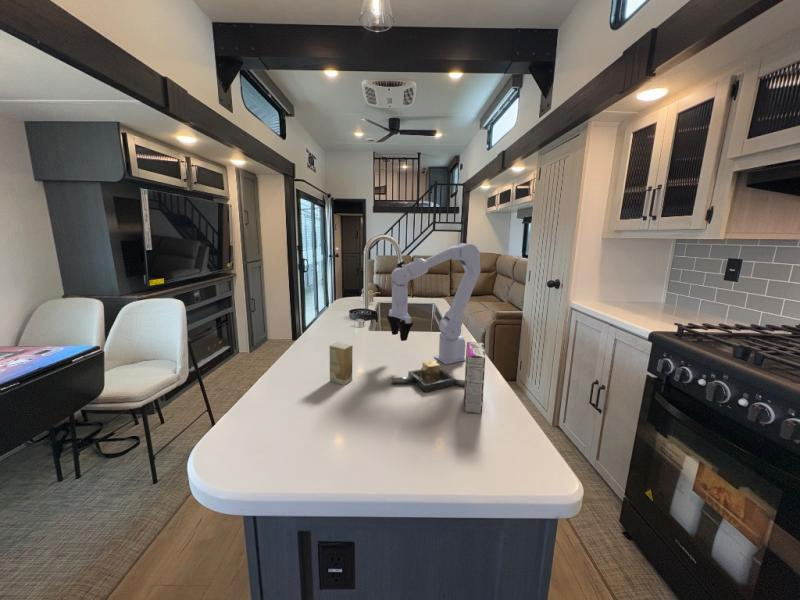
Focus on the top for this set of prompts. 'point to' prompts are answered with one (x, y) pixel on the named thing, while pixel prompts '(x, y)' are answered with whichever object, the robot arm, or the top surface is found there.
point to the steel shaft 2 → (459, 383)
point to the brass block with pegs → (430, 371)
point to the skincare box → (341, 363)
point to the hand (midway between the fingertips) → (399, 337)
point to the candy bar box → (474, 377)
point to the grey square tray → (443, 382)
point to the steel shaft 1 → (402, 380)
